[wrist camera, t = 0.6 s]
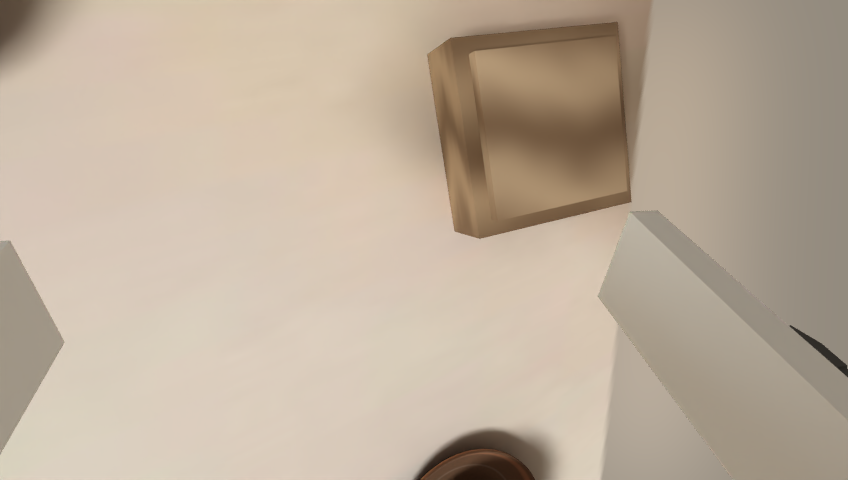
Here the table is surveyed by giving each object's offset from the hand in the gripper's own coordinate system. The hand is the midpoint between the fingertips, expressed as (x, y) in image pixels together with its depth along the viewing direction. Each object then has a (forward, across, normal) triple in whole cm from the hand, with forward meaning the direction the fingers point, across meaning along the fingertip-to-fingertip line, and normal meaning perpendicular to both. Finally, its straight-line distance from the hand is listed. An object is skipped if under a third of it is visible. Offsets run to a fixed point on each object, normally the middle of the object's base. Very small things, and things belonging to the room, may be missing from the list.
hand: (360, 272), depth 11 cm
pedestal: (+22, +13, -6) cm, 26 cm away
